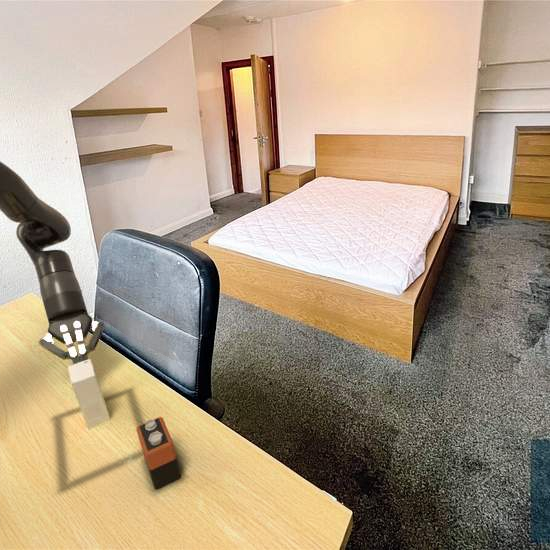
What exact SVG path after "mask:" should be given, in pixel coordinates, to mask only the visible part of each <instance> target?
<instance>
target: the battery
mask: <svg viewBox="0 0 550 550" xmlns="http://www.w3.org/2000/svg"><path fill="white" fill-rule="evenodd" d="M136 432H137V433H136V434H137V436H138V440H139V444H140V446H141V450H142V454H143V457H144V461H145V464H146V467H147V470H148V474H149V476H150V479H151V483H152V486H153V488H154V490H156V491H158V490H160V489H163V488H165V487H167V486H168V485H171V484H173V483H175V482H177V481H179V480H180V479H182V474H181V470H180V466H179V461H178V457H177V454H176V449H175V446H174V441H173V438H172V437H171V434H170V432H169V430H168V427H167V425H166V422H165V420H164V418H163V417H162V416H159V417H157V418H154V419H148V420H147V421H145V422H144V423H142V424H140V425H137V426H136Z"/></svg>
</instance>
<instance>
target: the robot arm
mask: <svg viewBox="0 0 550 550" xmlns="http://www.w3.org/2000/svg"><path fill="white" fill-rule="evenodd" d="M0 211H1V212H2V214H3V215H4V216H5V217H6V218H7V219H8V220H10V221H12V222H13V223H16V224H17V223H18V225H17V226H16V231H15V234H16V238H17V240H18V241H19V243H20V244H21V246H22V247H23V248H24V250H25V252H26V253H27V254H28V256H29V258H30V259H31V262H32V264H33V266H34V268H35V272H36V276H37V279H38V284H39V291H40V292H39V293H40V296H41V300H42V303H43V307H44V311H45V315H46V318H47V322H48V327H47V334H46V335H45V336H44V337H43V338H41V339H39V341H38V344H39V345H40V346H41V347H42V348H43V349H45V350H47V351H49V352H50V353H52V354H54V355H55V356H57V357H58V358H59V359H62V360H64V361H65V360H71V362H72V365H73V364H76V363H79V362H82V361H85V360H88V359H89V356H88V355H89V354H90V353H91V352H94V351H95V350H96V348H97V346H98V344H99V341H100V339H101V337H102V335H103V333H104V331H105V328H106V327H105V323H104V322H103V321H96V320H93V317H92V316H91V315H89V313H88V308H87V306H86V302H85V299H84V296H83V290H82V289H81V286H80V283H79V281H78V279H77V278H78V277H77V276H76V273H75V270H74V267H73V263H72V261H71V257H70V255H69V254H68V253H67V252H66V251H65V250H62V249H49V250H48V249H47V248H50V247H53V246H55V245H58V244H60V243H64V242H66V241H67V240H68V239H69V238H70V237H71V233H72V228H71V224H70V223H69V221H68V220H67V218H66V217H65V215H63V214H62V213H61V212H60V211H58V210H57V209H55V208H54V207H52V206H51V205H50V204H47V203H46V202H45V201H43V200H42V199H41V198H39V197H38V196H37V195H36V193H35V192H34V191H33V190H32V189H31V187H30V185H29V184H27V182H26V181H25V180H24V179H23V178H22V177H21V176H20V175H19V174H18V173H17V172H16V171H14V170H13V169H12V168H10V166H8V165H7V164H5V163H4V162H2V161H1V160H0ZM44 249H47V250H44ZM91 329H92V332H93V333H92V335H91V337H90V340H89V341H88V343H87V345H86V341H85V340H86V338H87V337H88V334H89V332H90V330H91ZM53 338H54V339H55V340H57V341H58V342H60V343H61V344H63V345H66V347H67V350H68V351H65V350H64V349H62V348H60V347H58V346H57V345H56V344H55V340H54V339H53ZM75 343H77V348H78V351H77V348H76V346H75ZM78 353H79V354H78Z"/></svg>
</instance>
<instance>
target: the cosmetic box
mask: <svg viewBox="0 0 550 550" xmlns="http://www.w3.org/2000/svg"><path fill="white" fill-rule="evenodd" d="M95 370H96V369H95V368H94V365H93V362H92V360H91V358H88V360H85V361H82V362H79V363H76V364H73V363H72V364H71V365H69V366H67V372H68V376H69V380H70V384H71V386H72V390H73V393H74V395H75V398H76V400H77V403H78V406H79V408H80V411H81V414H82V417H83V420H84V422H85V425H86V428H87V429H88V430H91V429H94V428H96V427H99V426H101V425H103V424H106V423H108V422H111V416H110V413H109V410H108V406H107V403H106V401H105V400H106V399H105V398H104V395H103V392H102V389H101V386H100V383H99V379H98V377H97V374H96V371H95Z"/></svg>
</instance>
